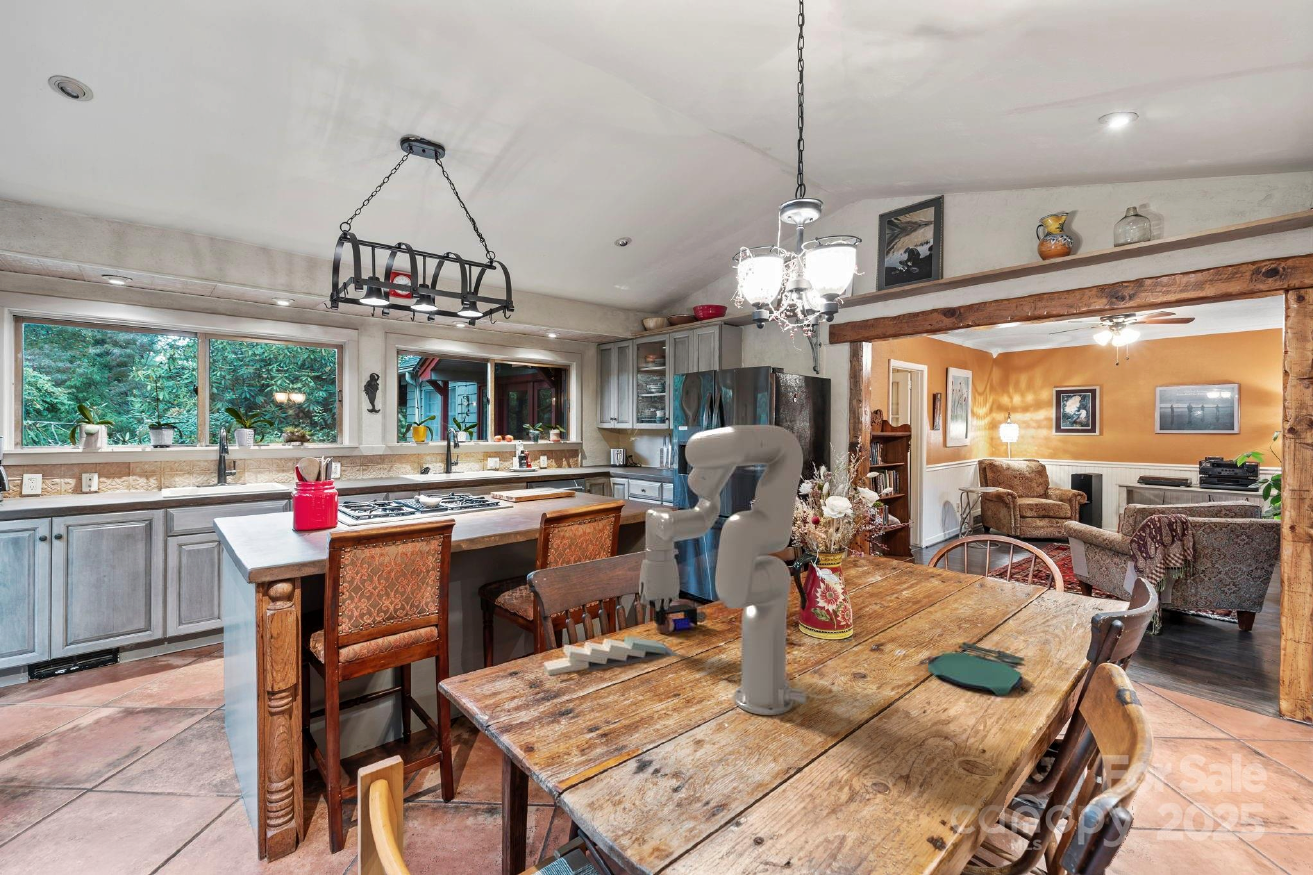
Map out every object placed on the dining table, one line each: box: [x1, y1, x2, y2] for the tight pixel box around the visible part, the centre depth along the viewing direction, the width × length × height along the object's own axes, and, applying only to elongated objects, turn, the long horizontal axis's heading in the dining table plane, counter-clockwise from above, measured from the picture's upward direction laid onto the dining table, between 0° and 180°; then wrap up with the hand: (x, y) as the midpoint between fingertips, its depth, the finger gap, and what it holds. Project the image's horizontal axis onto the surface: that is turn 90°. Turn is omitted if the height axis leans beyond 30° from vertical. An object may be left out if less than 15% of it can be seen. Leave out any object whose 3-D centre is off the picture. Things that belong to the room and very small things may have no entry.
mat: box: [587, 642, 678, 672], centre depth 150 cm, size 24×9×1 cm, turn 115°
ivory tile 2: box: [583, 641, 627, 661], centre depth 148 cm, size 2×5×10 cm
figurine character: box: [656, 603, 707, 635], centre depth 171 cm, size 7×8×15 cm
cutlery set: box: [927, 641, 1025, 697], centre depth 143 cm, size 20×30×2 cm, turn 136°
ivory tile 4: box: [542, 656, 589, 676], centre depth 143 cm, size 2×5×10 cm
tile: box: [623, 635, 667, 654], centre depth 152 cm, size 2×5×10 cm
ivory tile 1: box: [602, 637, 646, 658], centre depth 150 cm, size 2×5×10 cm
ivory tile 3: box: [562, 644, 607, 664], centre depth 145 cm, size 2×5×10 cm
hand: (659, 623), depth 154 cm, fingers closed
